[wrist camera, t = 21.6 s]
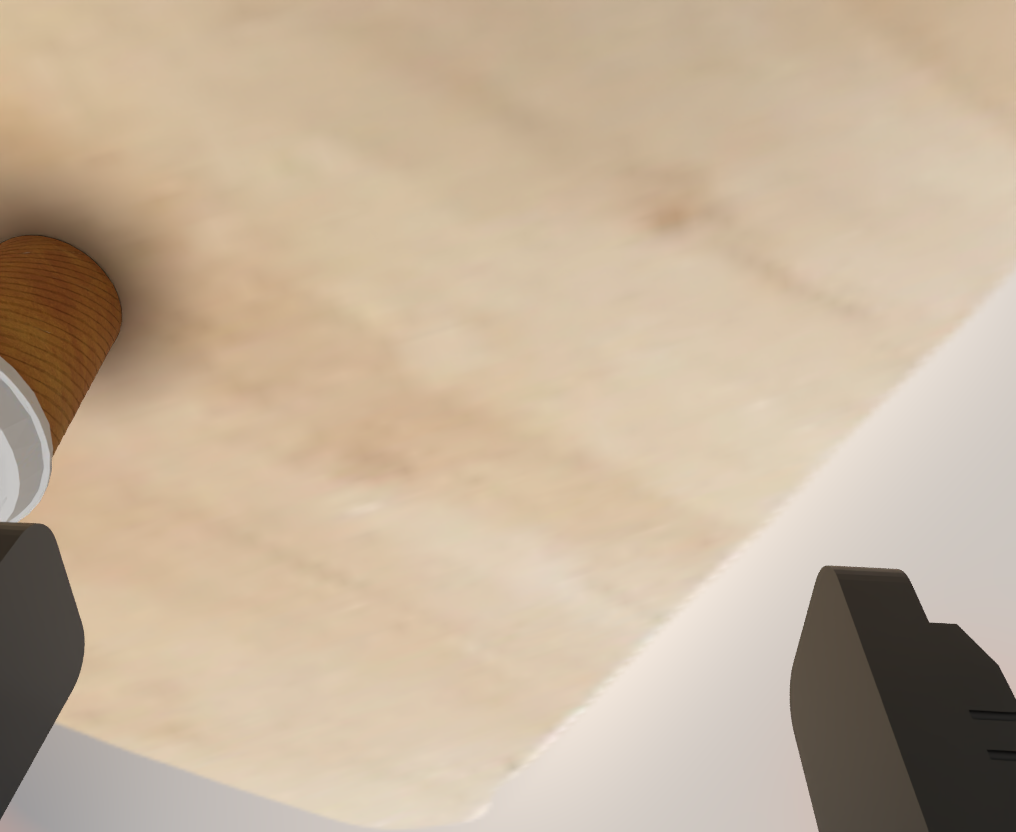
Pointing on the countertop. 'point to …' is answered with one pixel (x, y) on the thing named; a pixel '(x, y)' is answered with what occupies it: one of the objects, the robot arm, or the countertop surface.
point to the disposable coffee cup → (46, 356)
